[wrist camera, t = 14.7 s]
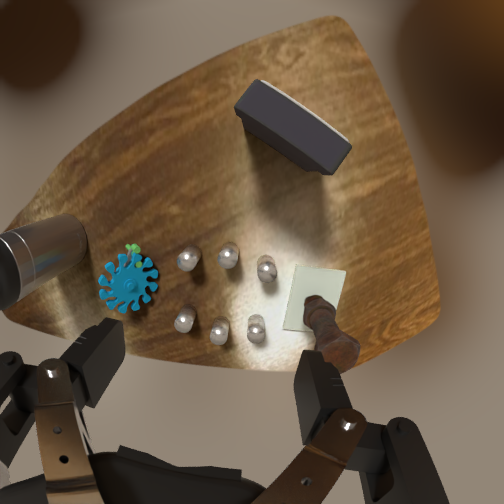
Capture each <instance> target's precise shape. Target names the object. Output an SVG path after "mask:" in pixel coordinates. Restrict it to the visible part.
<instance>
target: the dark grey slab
mask: <svg viewBox="0 0 504 504" xmlns="http://www.w3.org/2000/svg"><path fill="white" fill-rule="evenodd" d="M234 109H235V113H236V115H237V116H239V117H240V118H241V119H242V123H243V128H244V129H245V130H247V131H249V132H250V133H252V134H253V135H255V136H256V137H258V138H259V139H261V140H262V141H264V142H265V143H267V144H268V145H270V146H271V147H273V148H274V149H275V150H277V151H278V152H280V153H281V154H283V155H284V156H285V157H287V158H288V159H290V160H291V161H293V162H294V163H295V164H297V165H298V166H299V167H301V168H302V169H304V170H305V171H307V172H310V171H318V172H320V173H321V174H322V175H333V174H334V173H335V171H336V170H337V169H338V167H339V166H340V164H341V163H342V162H343V160H344V159H345V157H346V156H347V154H348V153H349V151H350V150H351V149H352V146H351V144H350V143H349V140H348V139H347V138H346V137H344V136H343V135H342V134H341V133H339V132H338V131H337V130H335V129H334V128H333V127H332V126H330V125H329V124H328V123H326V122H325V121H324V120H322V119H321V118H320V117H318V116H317V115H316V114H314V113H313V112H311V111H310V110H309V109H307V108H306V107H304V106H303V105H301V104H300V103H298V102H297V101H296V100H294V99H293V98H291V97H290V96H288V95H287V94H285V93H283V92H282V91H280V90H279V89H277V88H276V87H274V86H272V85H271V84H269V83H267V82H266V81H264V80H261V81H260V80H258V79H255V80H254V81H253V83H252V84H251V85H250V86H249V88H248V89H247V90H246V91H245V93H244V94H243V95H242V96H241V98H240V99H239V100H238V102H237V103H236V104H235V106H234Z"/></svg>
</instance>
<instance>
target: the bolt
mask: <svg viewBox="0 0 504 504" xmlns="http://www.w3.org/2000/svg"><path fill="white" fill-rule="evenodd" d="M304 301H305V303H304V307H305V308H304V314H303V322H304V324H305V325H306V326H307V327H308V328H310V329H312V330H313V332H314V335H315V337H316V340H317V341H316V344H315V349H314V350H315V351H321V352H322V355H323V358H324V361H325V362H331V363H332V364H333V365H334V366H335V367H336V368H337V369H338V371H339V373H340V374H341V373H344V372H346V371H348V370H349V369H350V368H352V367H353V366H354V365H355V363H356V362H357V359H358V357H359V352H360V344H359V342H358V340H356V339H354V338H353V337H351V336H349V335H348V334H346V333H344V332H343V331H341V330H339V328H338V326H337V324H336V322H335V315H336V309H335V307H334V306H333V305H332V304H331V303H329V302H328V301H326V300H325V299H323V297H322V296H319V295H312V296H308V297H306V299H305V300H304Z"/></svg>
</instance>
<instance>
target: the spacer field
mask: <svg viewBox="0 0 504 504" xmlns="http://www.w3.org/2000/svg"><path fill="white" fill-rule="evenodd" d="M201 254H202V253H201V249H200V248H199V247H198V246H196V245H189V246H187V247H186V249H185V250H184V251H183V252H182V253H181V254H180V255H179V256H178V258H177V264H178V266H179V268H180V269H182V270H183V271H191V270H192V269H193V268H194V267H195V265H196V264H197V262H198V261H199V259H200V257H201ZM238 254H239V248H238V246H237V245H236V244H235V243H233V242H227V243H225V244H224V245H223V246H222V248H221V251H220V253H219V255H218V263H219V265H220V266H221V267H223V268H225V269H230V268H233V267H234V266H235V265H236V263H237V259H238ZM257 272H258V278H259V279H260V280H261V281H262V282H265V283H269V282H272V281H273V280H275V278H276V276H277V270H276V266H275V261H274V259H273V258H272V257H271V256H269V255H263V256H261V257H260V258H259V259H258V261H257ZM196 314H197V311H196V309H195V307H194V306H192V305H184V306H183V307H182V309H181V311H180V313H179V315H178V317H177V318H176V320H175V323H174V325H175V328H176V329H177V330H178V331H179V332H182V333H186V332H189V331H190V329H191V327H192V324H193V322H194V319H195V317H196ZM228 330H229V320H228V319H227V318H226V317H223V316H219V317H216V318H215V319H214V322H213V326H212V330H211V334H210V340H211V341H212V342H213V343H214V344H216V345H222V344H224V343H225V342H226V341H227V336H228ZM247 337H248V340H249V341H250V342H252V343H260V342H262V341H263V340H264V338H265V328H264V319H263V317H262V316H260V315H257V314H255V315H252V316H250V317H249V319H248V333H247Z"/></svg>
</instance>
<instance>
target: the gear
mask: <svg viewBox="0 0 504 504" xmlns="http://www.w3.org/2000/svg"><path fill="white" fill-rule="evenodd" d="M126 248H127V249H128V254H127V255H126V254H119V255H118V260H119V267H118V268H117V269H116V272H114V269H115V266H114V264H113V263H112V262H109V263H107V264H106V265H105V268H106V270H107V271H108V272H110V273H111V274H112V280H111V281H109V282H108V281H107V279H106V277H105V276H104V275H101V276H100V278H99V280H98V282H99V284H100V285H102V286H109V287H111V288H112V289H111V291H110V292H107V291H106V290H104V289H101V290H100V292H99V294H100V298H101V299H102V300H104V299H106V298H108V297H116V299H114V300H108V301H107V302H106V304H107V306H108V307H109V309H110V310H112V309H114V307H115V306H116V305H117V304H118V303H120V302H122V301H124V303H123V304H120V305H119V306H118V310H119V311H120V312H121V313H126V311H127V306H128V304H129V303H130V302H131V301H132V300H134V301H133V303H132V304H131V308H132V310H133V311H136V310H139V309H140V306H139V304H138V299H139V296H140V295H142V294H143V295H142V300H143V301H144V302H145V303H147V302H149V301H150V300H151V297H150V296H149V295H148V294H146V292H145V287H146V286H149V288H150V289H151V290H152V291H155V290H156V289H157V287H158V285H157V284H156V283H155V282H148V281H147V280H146V278H147V277H148V276H151V277H152V278H157V277H158V271H157V270H156V269H152V270H150V271H142V270H143V268H144V267H152V266H153V263H152V261H151V260H150V259H149V258H148V257H147V258H145V260H144V261H143V262H141V261H140V260H141V259H142V256H141V255H140V254H139V252H140V250H141V249H140V247H139V246H138V245H137V244H132V246H130V245H129V244H127V245H126Z"/></svg>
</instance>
